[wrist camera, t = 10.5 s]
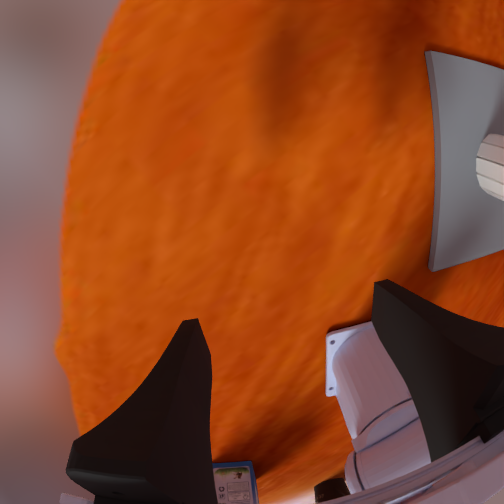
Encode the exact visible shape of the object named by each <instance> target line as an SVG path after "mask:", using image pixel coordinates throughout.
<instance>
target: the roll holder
mask: <svg viewBox="0 0 504 504" xmlns="http://www.w3.org/2000/svg"><path fill="white" fill-rule="evenodd" d="M425 58H426V64H427V70H428V76H429V84H430V91H431V100H432V111H433V123H434V142H435V196H434V215H433V228H432V238H431V248H430V256H429V264H428V268H429V269H430V270H431V271H432V272H435V271H438V270H441V269H445V268H448V267H451V266H455V265H458V264H461V263H464V262H467V261H470V260H474V259H477V258H480V257H483V256H486V255H489V254H492V253H495V252H497V251H500V250H503V249H504V201H502V200H500V199H498V198H496V197H494V196H492V195H490V194H487V193H486V192H485V191H484V190H483V189H482V188H481V186H480V184H479V181H478V178H477V175H476V174H477V172H476V158H477V157H478V156H477V153H478V150H479V147H480V144H481V143H483V142H482V141H483V140H484V139H485V138H486V137H487V136H488V135H489V134H499V135H503V136H504V70H503V69H500V68H497V67H494V66H490V65H487V64H484V63H480V62H477V61H473V60H470V59H466V58H462V57H458V56H454V55H449V54H445V53H440V52H435V51H426V52H425Z"/></svg>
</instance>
